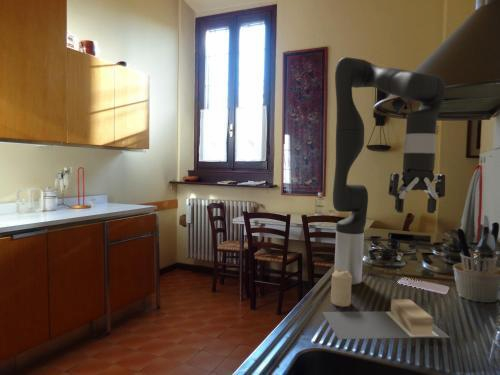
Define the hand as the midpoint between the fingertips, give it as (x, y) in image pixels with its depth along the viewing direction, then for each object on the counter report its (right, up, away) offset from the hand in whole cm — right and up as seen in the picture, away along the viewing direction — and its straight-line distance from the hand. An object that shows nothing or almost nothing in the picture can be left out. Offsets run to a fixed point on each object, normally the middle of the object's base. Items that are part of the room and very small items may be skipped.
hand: (415, 212), depth 93 cm
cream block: (-3, -28, -4) cm, 28 cm away
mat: (-11, -28, -5) cm, 31 cm away
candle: (-18, -27, +8) cm, 34 cm away
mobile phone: (+14, -27, +25) cm, 39 cm away
